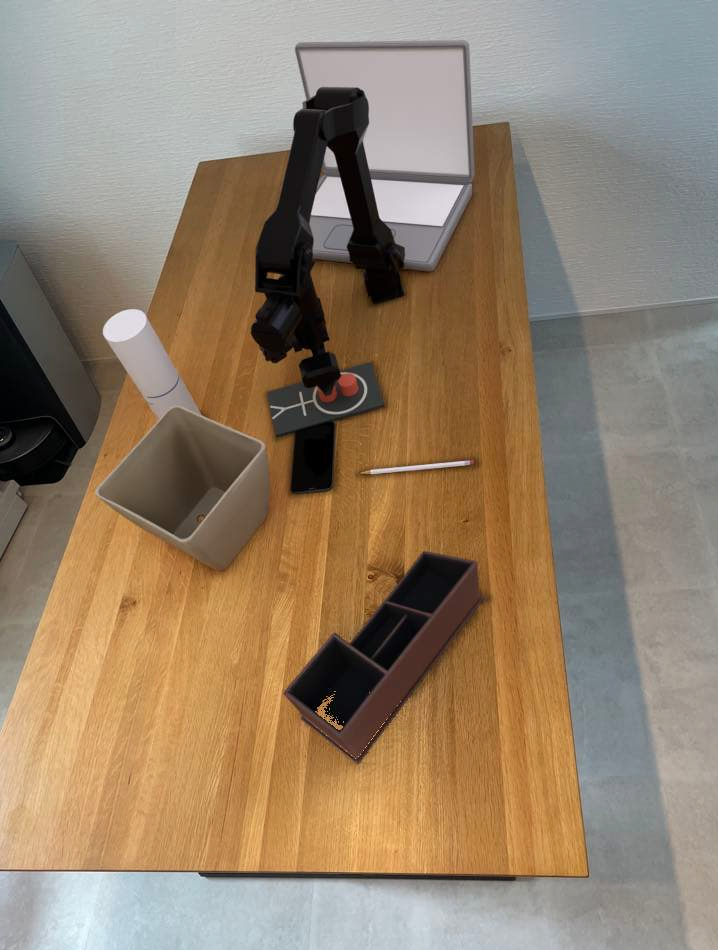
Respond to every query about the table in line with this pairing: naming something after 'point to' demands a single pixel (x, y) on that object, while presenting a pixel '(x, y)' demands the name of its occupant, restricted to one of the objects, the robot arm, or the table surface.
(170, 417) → the flower pot
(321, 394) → the dot
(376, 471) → the pencil
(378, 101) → the laptop
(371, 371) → the board
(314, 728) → the desk organizer
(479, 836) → the table surface
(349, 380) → the dot
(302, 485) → the smartphone
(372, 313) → the table surface
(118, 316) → the cylindrical container
